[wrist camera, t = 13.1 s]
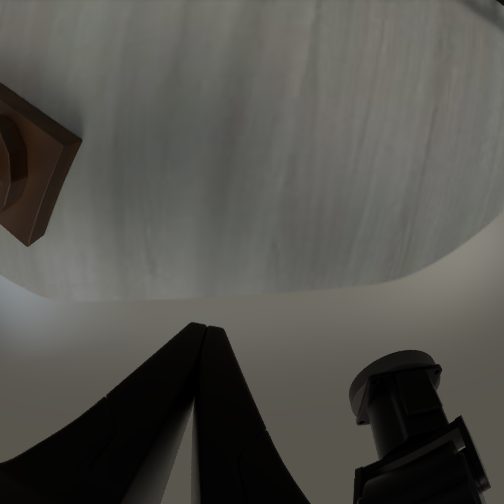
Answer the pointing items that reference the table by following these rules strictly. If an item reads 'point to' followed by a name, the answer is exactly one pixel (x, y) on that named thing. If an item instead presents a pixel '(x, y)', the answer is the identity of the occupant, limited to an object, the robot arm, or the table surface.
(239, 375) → the robot arm
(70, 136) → the button block
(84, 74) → the table surface
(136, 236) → the table surface
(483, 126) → the table surface
